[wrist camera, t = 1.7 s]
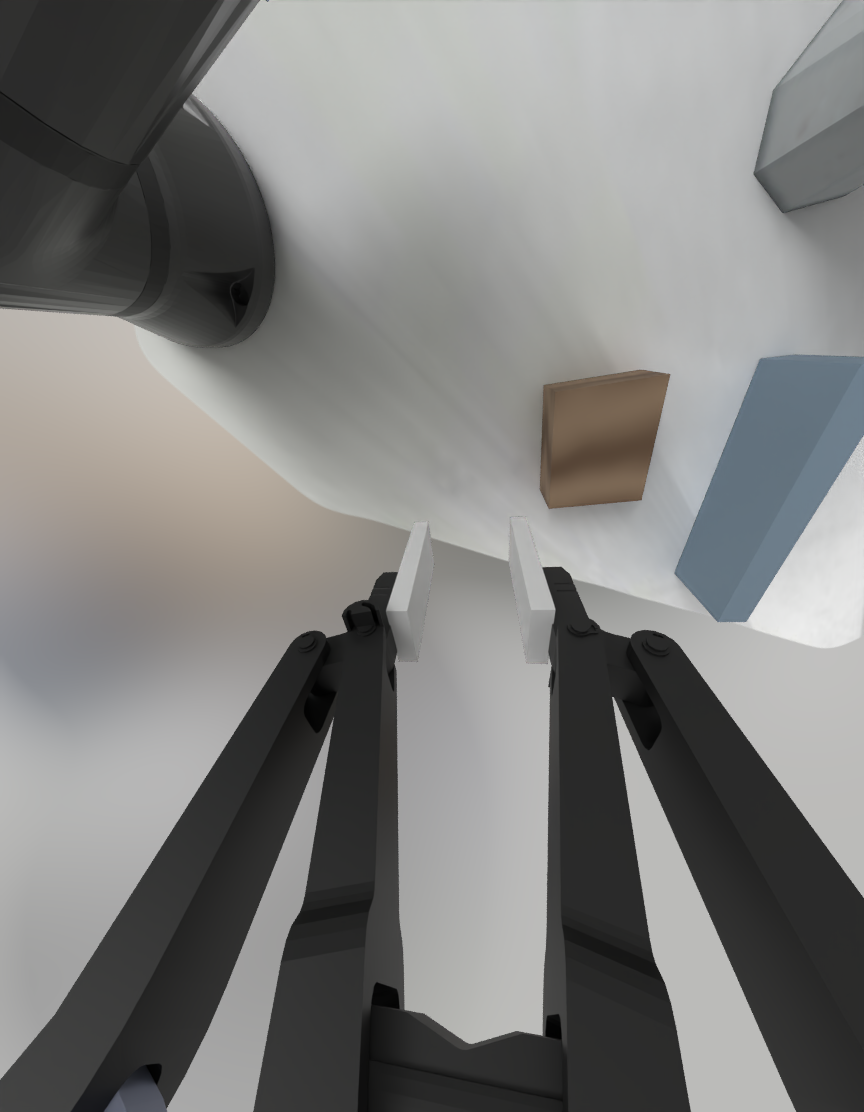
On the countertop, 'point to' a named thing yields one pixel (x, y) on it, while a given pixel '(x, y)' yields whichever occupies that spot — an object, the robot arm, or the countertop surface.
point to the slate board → (772, 477)
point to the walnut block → (599, 437)
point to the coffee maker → (818, 118)
